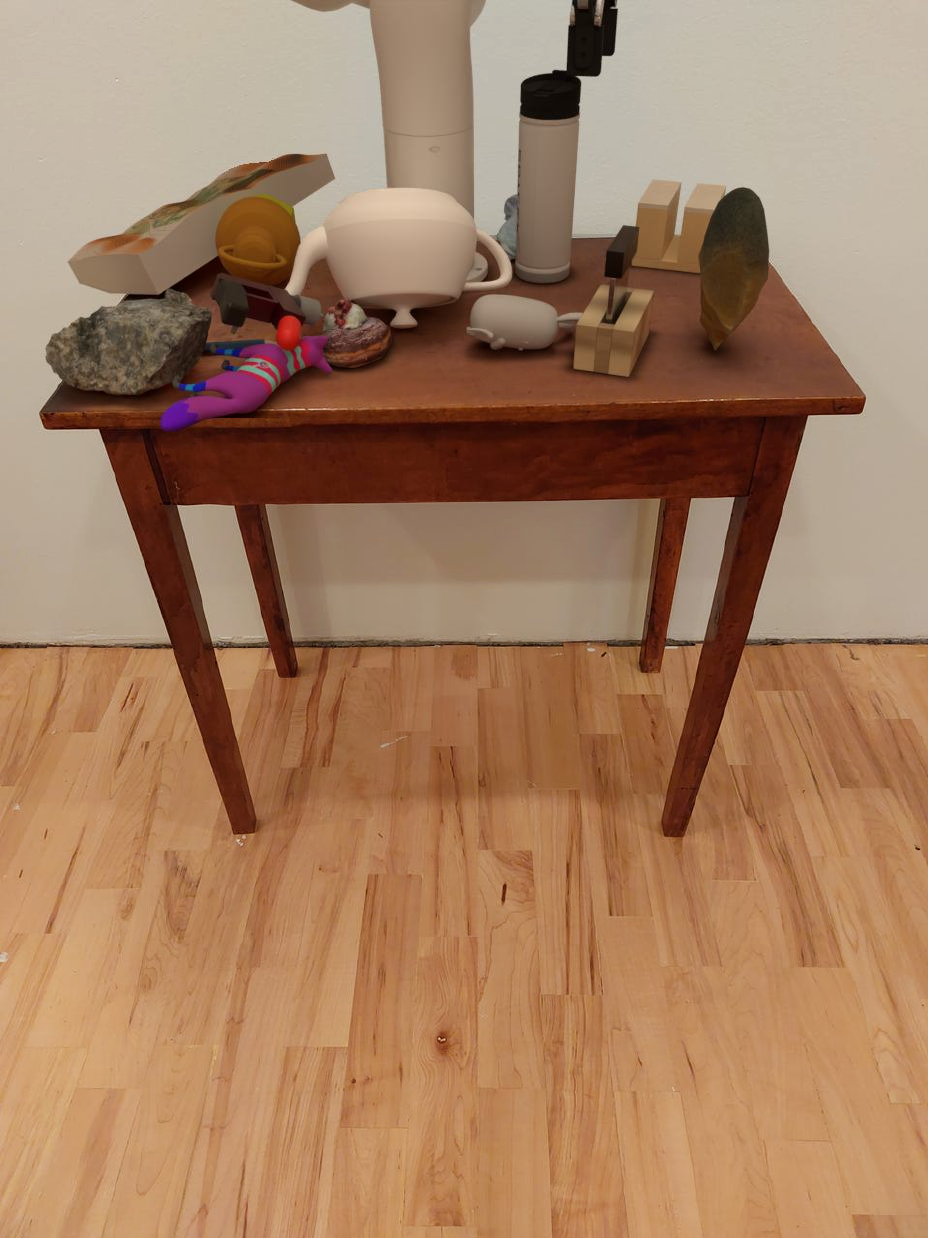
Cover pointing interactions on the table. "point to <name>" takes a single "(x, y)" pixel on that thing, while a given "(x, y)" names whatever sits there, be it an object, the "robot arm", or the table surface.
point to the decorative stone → (732, 263)
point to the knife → (619, 269)
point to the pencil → (237, 344)
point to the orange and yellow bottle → (258, 239)
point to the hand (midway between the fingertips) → (591, 64)
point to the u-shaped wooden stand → (673, 225)
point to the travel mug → (546, 175)
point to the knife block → (613, 333)
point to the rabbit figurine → (517, 322)
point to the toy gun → (264, 308)
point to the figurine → (509, 228)
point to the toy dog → (243, 381)
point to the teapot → (398, 251)
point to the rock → (131, 345)
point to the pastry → (353, 336)
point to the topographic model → (191, 227)
